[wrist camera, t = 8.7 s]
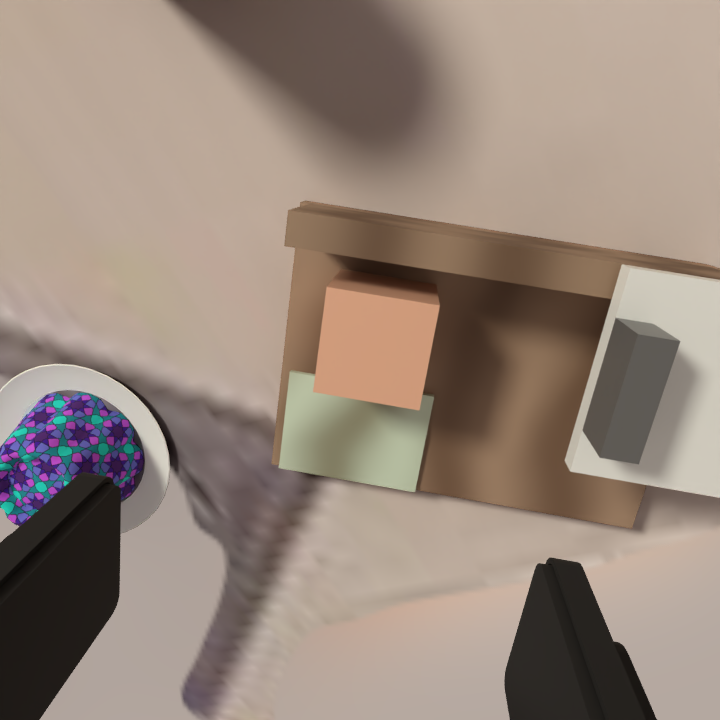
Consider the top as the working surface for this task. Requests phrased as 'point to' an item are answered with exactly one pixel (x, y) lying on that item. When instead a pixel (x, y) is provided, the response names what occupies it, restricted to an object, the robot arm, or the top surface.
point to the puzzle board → (460, 362)
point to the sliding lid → (654, 386)
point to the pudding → (77, 442)
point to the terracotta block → (376, 338)
